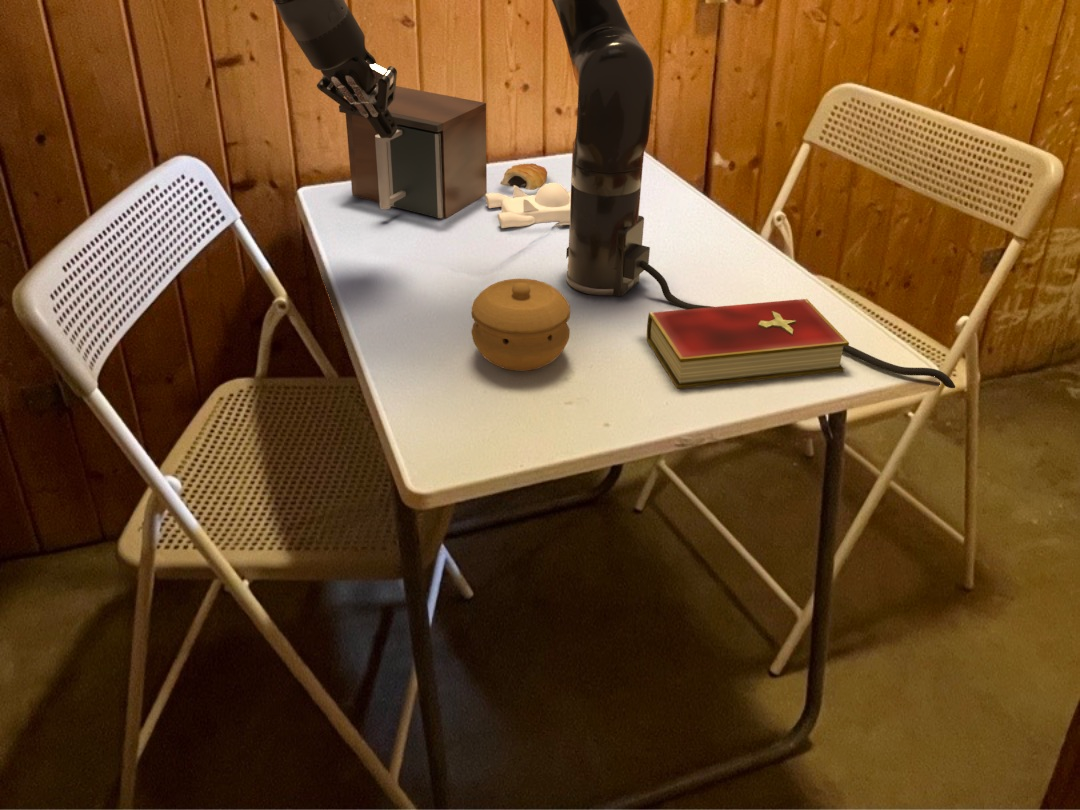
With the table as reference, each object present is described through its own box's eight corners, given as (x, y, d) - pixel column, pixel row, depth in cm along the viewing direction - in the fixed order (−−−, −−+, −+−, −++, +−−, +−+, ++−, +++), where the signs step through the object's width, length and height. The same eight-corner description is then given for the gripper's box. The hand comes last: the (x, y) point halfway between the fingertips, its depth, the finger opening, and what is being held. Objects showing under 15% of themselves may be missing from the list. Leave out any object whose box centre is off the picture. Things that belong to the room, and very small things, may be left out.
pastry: (520, 173, 176) (520, 152, 174) (556, 179, 174) (557, 158, 172) (498, 191, 168) (498, 169, 166) (535, 198, 166) (536, 175, 164)
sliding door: (420, 231, 150) (416, 144, 143) (369, 218, 154) (362, 133, 147) (443, 217, 155) (440, 133, 148) (393, 204, 159) (388, 122, 152)
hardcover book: (645, 338, 127) (648, 309, 125) (800, 324, 131) (805, 295, 129) (677, 388, 117) (680, 357, 115) (843, 371, 121) (849, 340, 119)
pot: (525, 325, 130) (526, 253, 124) (588, 361, 122) (592, 287, 117) (452, 354, 123) (450, 280, 117) (514, 394, 116) (515, 317, 110)
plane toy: (625, 226, 157) (627, 190, 154) (500, 238, 152) (500, 202, 149) (603, 201, 165) (605, 167, 162) (484, 212, 161) (484, 177, 157)
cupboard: (441, 229, 155) (437, 125, 146) (347, 205, 162) (338, 105, 153) (486, 201, 165) (486, 102, 156) (396, 180, 172) (391, 84, 163)
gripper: (374, -5, 120) (441, 114, 132) (299, 6, 127) (369, 117, 139) (341, 34, 116) (413, 152, 128) (266, 43, 124) (340, 154, 136)
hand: (390, 134), depth 134 cm, fingers closed
